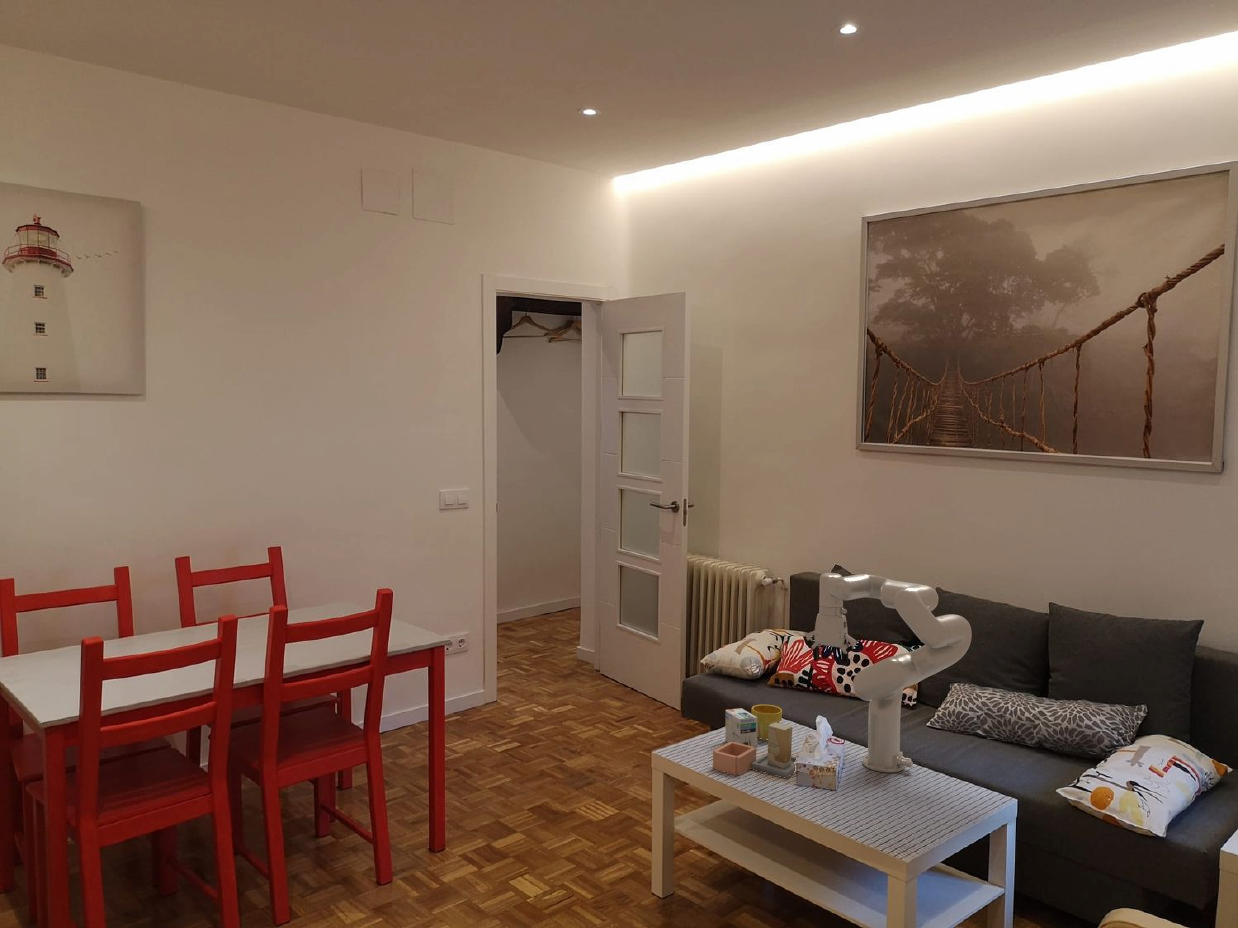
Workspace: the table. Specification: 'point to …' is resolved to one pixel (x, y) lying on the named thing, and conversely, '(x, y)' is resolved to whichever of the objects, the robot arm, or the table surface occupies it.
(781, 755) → the skincare box
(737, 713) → the light bulb box
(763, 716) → the plant pot
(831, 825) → the table surface
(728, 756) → the terracotta square pot
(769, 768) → the grey tray
